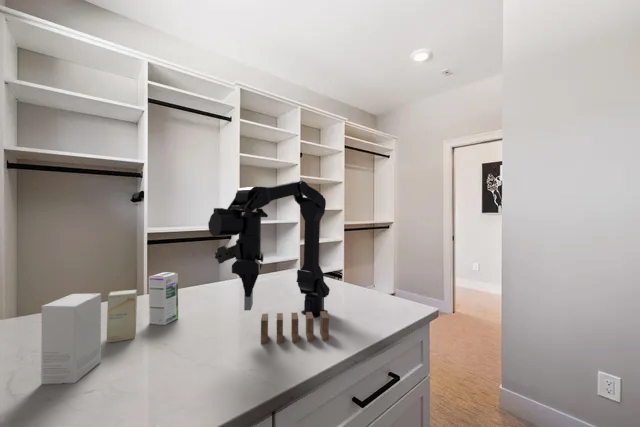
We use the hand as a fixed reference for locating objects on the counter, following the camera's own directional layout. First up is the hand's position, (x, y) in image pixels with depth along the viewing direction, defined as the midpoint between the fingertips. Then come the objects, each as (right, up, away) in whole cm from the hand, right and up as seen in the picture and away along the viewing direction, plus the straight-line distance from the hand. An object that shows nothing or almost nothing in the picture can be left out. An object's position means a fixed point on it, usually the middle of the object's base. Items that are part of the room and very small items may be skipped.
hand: (249, 293), depth 76 cm
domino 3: (+12, -12, +1) cm, 17 cm away
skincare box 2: (-34, -12, +1) cm, 36 cm away
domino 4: (+16, -12, +2) cm, 20 cm away
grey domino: (0, -4, 0) cm, 4 cm away
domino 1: (+4, -12, 0) cm, 13 cm away
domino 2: (+8, -12, +1) cm, 15 cm away
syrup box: (-29, -12, +13) cm, 34 cm away
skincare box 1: (-32, -12, -16) cm, 38 cm away
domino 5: (+20, -12, +3) cm, 23 cm away
